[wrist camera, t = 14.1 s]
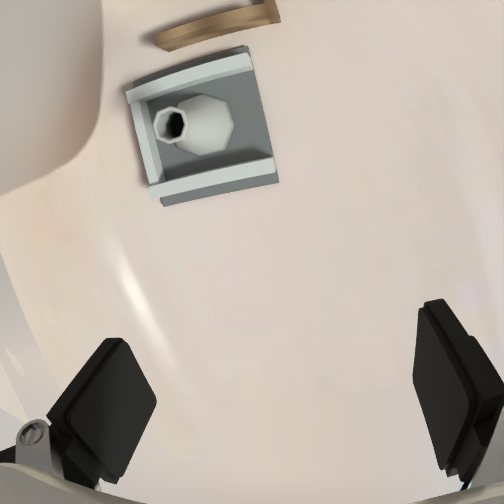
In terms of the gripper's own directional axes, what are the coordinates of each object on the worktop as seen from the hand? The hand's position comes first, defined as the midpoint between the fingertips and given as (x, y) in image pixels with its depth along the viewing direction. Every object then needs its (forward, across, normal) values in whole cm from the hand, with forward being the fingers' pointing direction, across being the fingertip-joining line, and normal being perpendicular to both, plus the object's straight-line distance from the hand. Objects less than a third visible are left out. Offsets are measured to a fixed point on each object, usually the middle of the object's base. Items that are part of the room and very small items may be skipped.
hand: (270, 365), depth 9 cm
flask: (+28, +8, -9) cm, 30 cm away
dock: (+28, +8, -9) cm, 31 cm away
